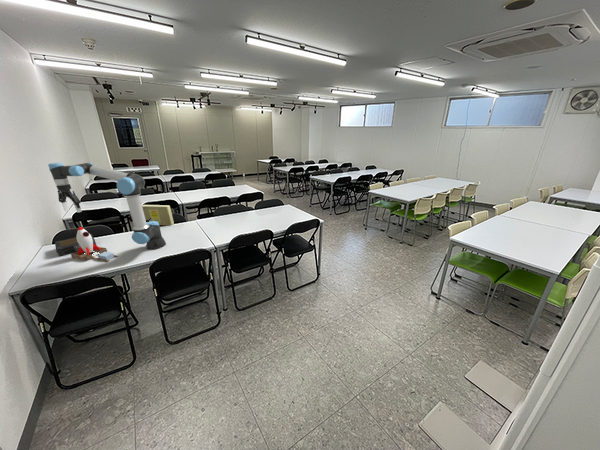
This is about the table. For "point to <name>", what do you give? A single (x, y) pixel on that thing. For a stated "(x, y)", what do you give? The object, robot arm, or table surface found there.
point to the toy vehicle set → (158, 214)
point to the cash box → (69, 246)
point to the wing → (106, 255)
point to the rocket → (85, 242)
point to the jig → (88, 257)
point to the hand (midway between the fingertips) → (73, 211)
